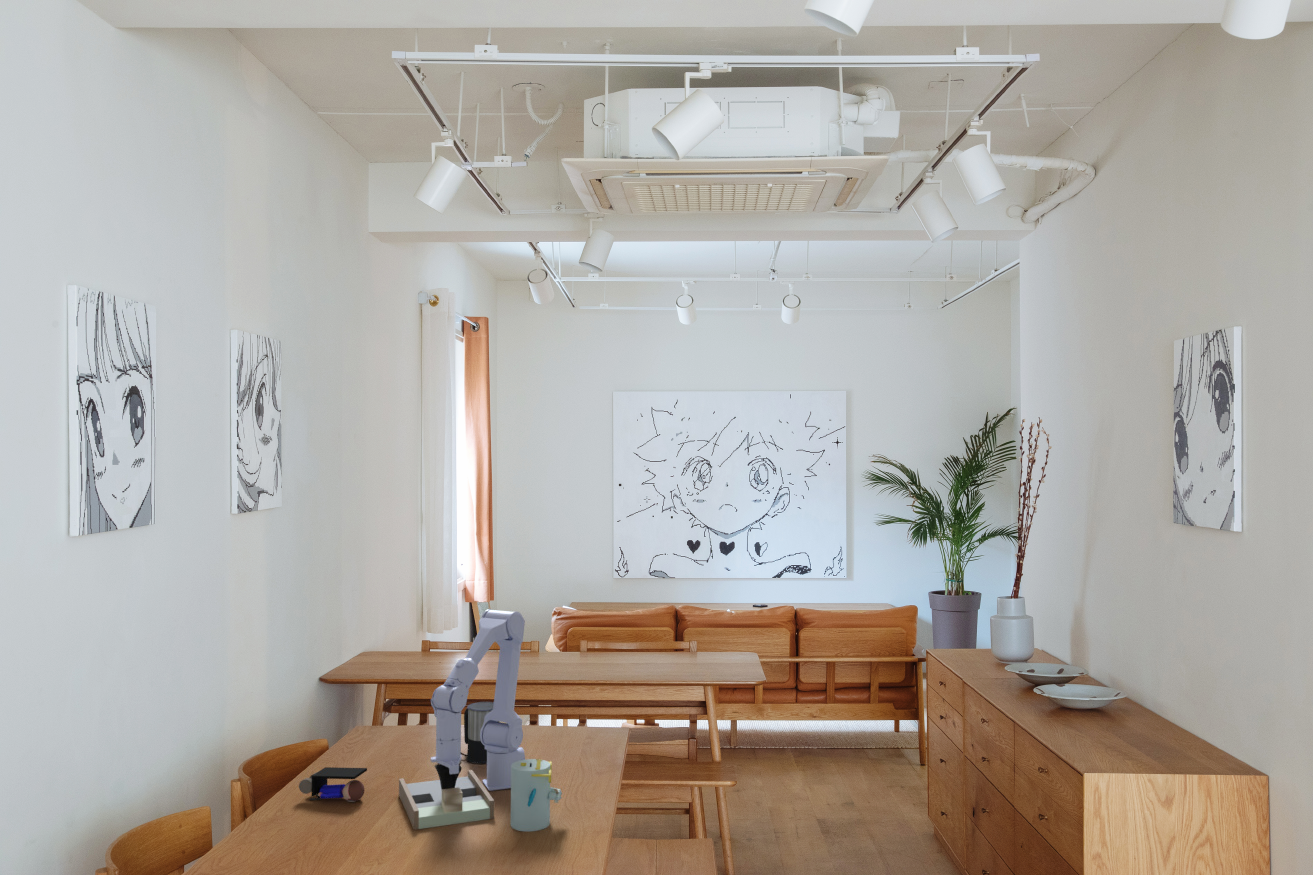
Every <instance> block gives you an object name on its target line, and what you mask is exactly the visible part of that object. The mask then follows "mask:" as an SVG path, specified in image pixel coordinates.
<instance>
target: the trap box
mask: <svg viewBox="0 0 1313 875" xmlns="http://www.w3.org/2000/svg"><path fill="white" fill-rule="evenodd" d="M458 787H459V788H460V789H461V791H462V793H463V798H462V811H456V812H449V813H444V811H443V809H442V807H441V806H442V790H441V784H440V779H436V780H427V781H420V782H418V781H417V782H412V783H406V781H405V779H404V778H399V779H398V796H399V798H400V802H401V804H402V806H403V808H404V810H405V813H406V815H407V817H408V819H409V822H410V824H411V826H412V828H413V830H414V831H415V830H421V829H427V828H436V827H442V826H448V825H456V824H464V823H471V822H478V821H485V820H489V819H490V820H491V819H494V818H495V799H494V798H493V797H492V795H491V794H490V793H489V790H488V789H487V787H486V786H485V785H484V783H483V782H482V781H481V780H480V779H479V777H478V776H477V775H476V773H475V771H473V769H469V770H467V776H460V777H459V776H458V778H457V781H456V785H455V788H458Z"/></svg>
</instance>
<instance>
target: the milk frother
mask: <svg viewBox="0 0 1313 875" xmlns="http://www.w3.org/2000/svg"><path fill="white" fill-rule="evenodd" d="M493 706H494V701H493V702H492V701H479V702H473V703H470V704H468V705H467V707H466V708H465V710H464V712H463V713H464V714H463V725H464V727H463V732H464V735H463V736H464V737H463V738H464V743H465V745H467V752H466V753H463V752H461V756H464V757H465V760H466V761H467V762H468V763H471V764H477V765H479V764H480V765H484V764H486V765H487V750H486V749H485V745H483V744H482V742H481V739H480V731H481V728H482V726H483V723H484V717H485V716H486V715H487V714H488V713H489V712H491V711H492V710H493ZM497 722H500V721H497Z"/></svg>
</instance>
